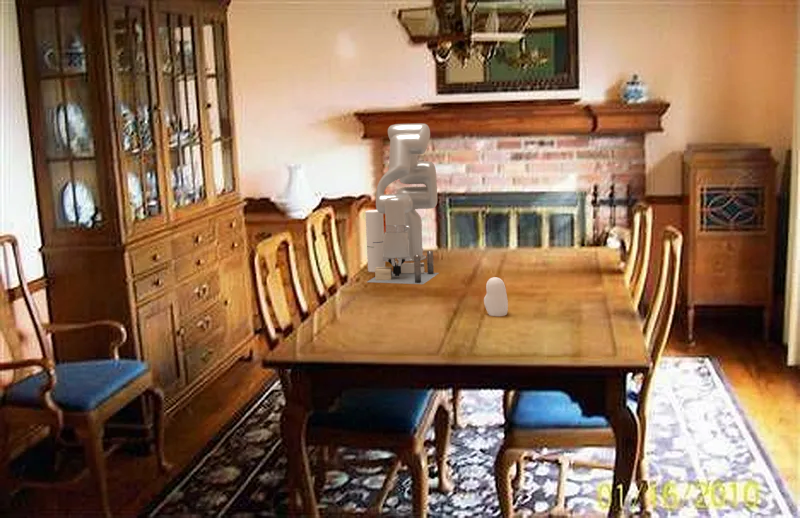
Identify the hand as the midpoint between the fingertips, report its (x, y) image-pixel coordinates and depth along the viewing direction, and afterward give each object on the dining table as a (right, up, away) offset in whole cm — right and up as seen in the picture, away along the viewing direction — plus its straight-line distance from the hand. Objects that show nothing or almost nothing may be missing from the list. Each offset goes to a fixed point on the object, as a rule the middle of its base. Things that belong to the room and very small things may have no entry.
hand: (397, 275), depth 358 cm
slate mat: (+2, -1, +1) cm, 3 cm away
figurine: (+33, -12, -58) cm, 68 cm away
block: (-5, -1, 0) cm, 5 cm away
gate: (+5, +1, +7) cm, 9 cm away
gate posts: (+11, -1, -2) cm, 11 cm away
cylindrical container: (-8, +1, +17) cm, 19 cm away
